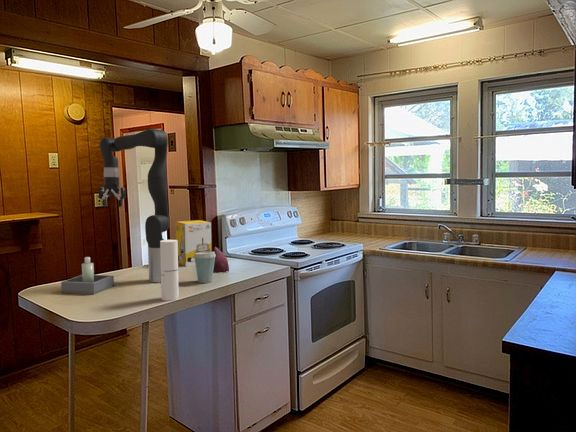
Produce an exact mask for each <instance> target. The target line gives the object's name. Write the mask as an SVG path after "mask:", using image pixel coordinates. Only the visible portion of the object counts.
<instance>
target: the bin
mask: <svg viewBox="0 0 576 432" xmlns="http://www.w3.org/2000/svg"><path fill="white" fill-rule="evenodd" d="M60 283H61V285H60V286H61V294H75V295H76V294H78V295H79V294H80V295H96V294H99V293H101V292H103V291H105V290H108V289H110V288H112V287H114V286H115V278H114V275H109V274H107V275H106V274H94V282H93V283H88V282H82V274H80V275H77V276H75V277H72V278H69V279H66V280H64V281H61V282H60Z"/></svg>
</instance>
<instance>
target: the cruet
mask: <svg viewBox="0 0 576 432" xmlns="http://www.w3.org/2000/svg"><path fill="white" fill-rule="evenodd" d="M81 275H82V282H88V283H93V282H94V275H95V268H94V262H91V257H90V256H85V257H84V263H81Z"/></svg>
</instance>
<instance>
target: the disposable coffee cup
mask: <svg viewBox="0 0 576 432" xmlns="http://www.w3.org/2000/svg"><path fill="white" fill-rule="evenodd" d="M194 257H195V264H196V266H195V269H196V277H197V281H198V283H200V284H208V283H211V282H212V280H213V275H214V272H213V269H214V262H215V257H216V254H215V252H214V251H212V252H200V253H196V254H195V255H194Z"/></svg>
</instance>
